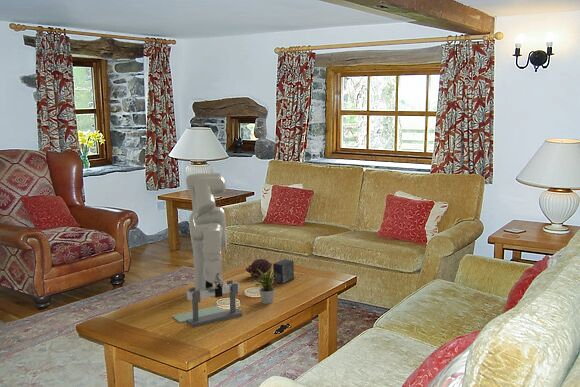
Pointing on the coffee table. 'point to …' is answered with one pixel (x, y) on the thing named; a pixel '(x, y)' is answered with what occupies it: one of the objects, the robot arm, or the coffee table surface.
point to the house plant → (266, 287)
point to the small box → (283, 271)
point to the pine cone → (259, 267)
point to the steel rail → (211, 291)
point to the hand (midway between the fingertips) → (213, 293)
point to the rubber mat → (199, 313)
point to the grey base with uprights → (217, 316)
